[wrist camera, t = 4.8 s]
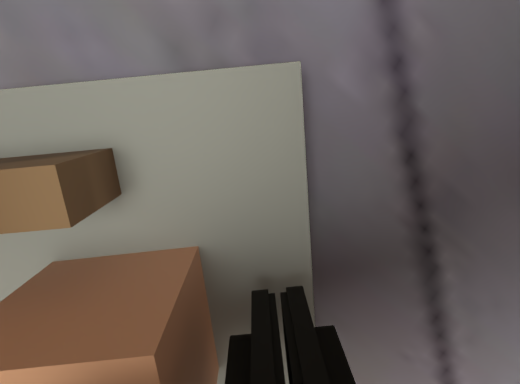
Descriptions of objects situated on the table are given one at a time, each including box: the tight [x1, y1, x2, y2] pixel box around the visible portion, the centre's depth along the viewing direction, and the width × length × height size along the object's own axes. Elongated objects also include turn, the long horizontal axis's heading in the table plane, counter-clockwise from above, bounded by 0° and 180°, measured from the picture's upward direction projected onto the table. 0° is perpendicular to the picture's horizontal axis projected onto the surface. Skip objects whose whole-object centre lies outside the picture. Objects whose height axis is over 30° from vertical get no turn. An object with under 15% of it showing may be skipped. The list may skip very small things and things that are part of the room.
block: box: [0, 246, 219, 384], centre depth 9 cm, size 5×5×5 cm
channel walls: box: [0, 148, 122, 234], centre depth 10 cm, size 7×12×3 cm, turn 5°
